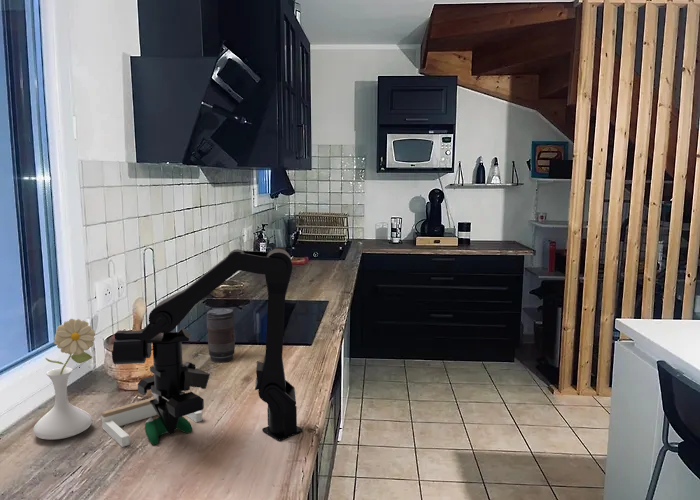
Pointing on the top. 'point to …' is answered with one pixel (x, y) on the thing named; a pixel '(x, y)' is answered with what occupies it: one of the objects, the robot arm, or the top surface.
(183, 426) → the gaming controller
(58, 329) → the flower in vase
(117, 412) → the frame
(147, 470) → the top surface
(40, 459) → the top surface
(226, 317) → the dark grey cylinder
